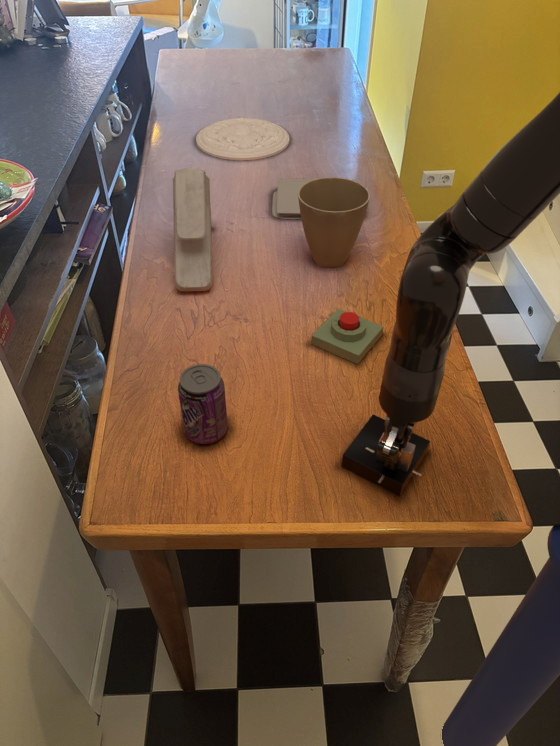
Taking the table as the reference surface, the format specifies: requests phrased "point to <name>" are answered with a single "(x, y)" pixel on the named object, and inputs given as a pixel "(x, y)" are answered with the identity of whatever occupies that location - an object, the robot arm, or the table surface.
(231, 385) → the table surface
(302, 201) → the plant pot
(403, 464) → the rotary knob
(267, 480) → the table surface
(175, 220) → the leaning slabs
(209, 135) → the ceiling medallion
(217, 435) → the beverage can
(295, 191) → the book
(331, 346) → the switch
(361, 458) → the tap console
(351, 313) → the button
